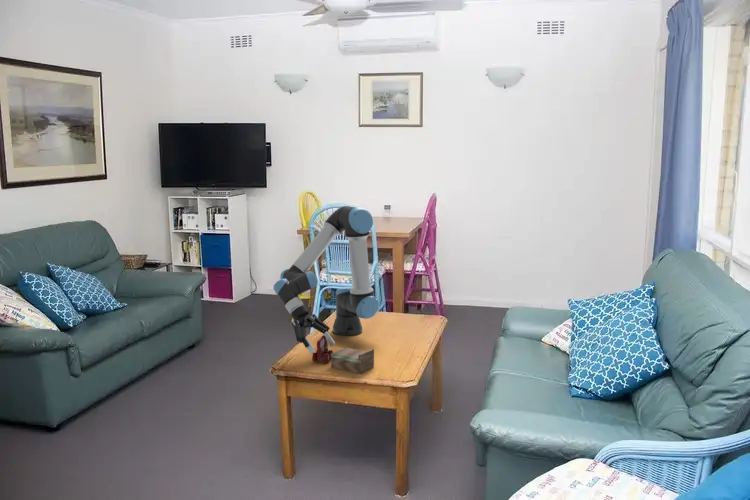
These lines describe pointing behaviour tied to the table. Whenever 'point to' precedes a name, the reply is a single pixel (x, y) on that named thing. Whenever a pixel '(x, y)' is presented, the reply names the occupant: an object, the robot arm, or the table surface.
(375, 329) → the table surface
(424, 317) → the table surface
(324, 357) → the toy fire truck
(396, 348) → the table surface
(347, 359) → the stand
